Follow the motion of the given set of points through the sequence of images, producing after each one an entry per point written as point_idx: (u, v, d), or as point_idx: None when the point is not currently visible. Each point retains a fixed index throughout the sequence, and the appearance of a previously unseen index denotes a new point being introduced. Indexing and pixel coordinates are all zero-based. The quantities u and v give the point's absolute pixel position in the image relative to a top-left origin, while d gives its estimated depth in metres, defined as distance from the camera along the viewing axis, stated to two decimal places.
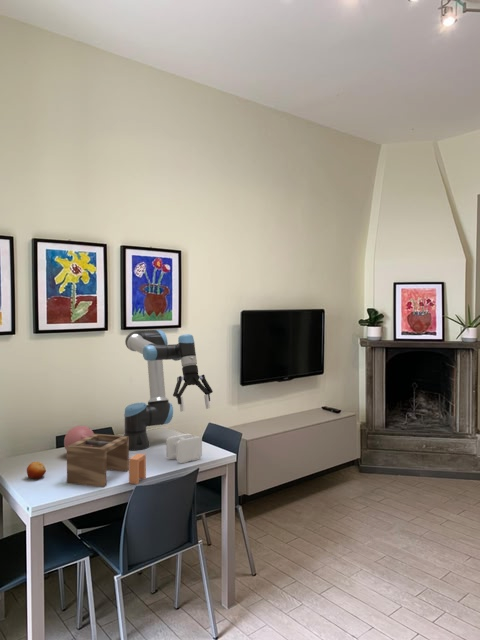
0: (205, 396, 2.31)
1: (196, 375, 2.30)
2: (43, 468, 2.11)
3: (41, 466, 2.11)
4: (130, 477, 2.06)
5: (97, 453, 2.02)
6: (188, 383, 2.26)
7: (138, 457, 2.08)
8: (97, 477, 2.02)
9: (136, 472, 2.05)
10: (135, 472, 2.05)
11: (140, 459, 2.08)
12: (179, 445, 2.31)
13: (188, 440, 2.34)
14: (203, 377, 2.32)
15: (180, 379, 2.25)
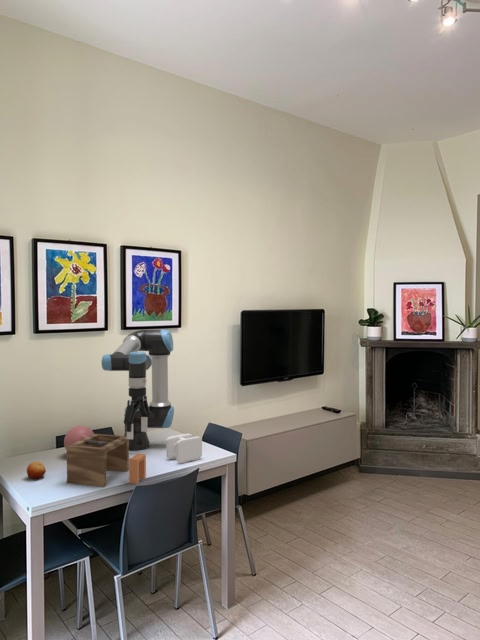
0: (143, 418, 2.15)
1: (142, 397, 2.11)
2: (43, 468, 2.11)
3: (41, 466, 2.11)
4: (130, 477, 2.06)
5: (97, 453, 2.02)
6: (138, 408, 2.06)
7: (138, 457, 2.08)
8: (97, 477, 2.02)
9: (136, 472, 2.05)
10: (135, 472, 2.05)
11: (140, 459, 2.08)
12: (179, 445, 2.31)
13: (188, 440, 2.35)
14: (145, 399, 2.14)
15: (133, 404, 2.02)
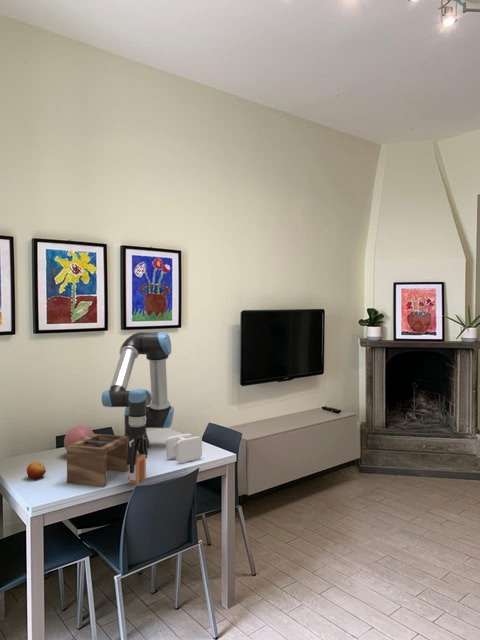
0: None
1: (142, 434, 2.11)
2: (43, 468, 2.11)
3: (41, 466, 2.11)
4: None
5: (97, 453, 2.02)
6: (139, 447, 2.07)
7: (138, 457, 2.08)
8: (97, 477, 2.02)
9: (136, 472, 2.05)
10: None
11: (140, 459, 2.08)
12: (179, 445, 2.31)
13: (188, 440, 2.34)
14: (145, 437, 2.15)
15: (133, 445, 2.03)
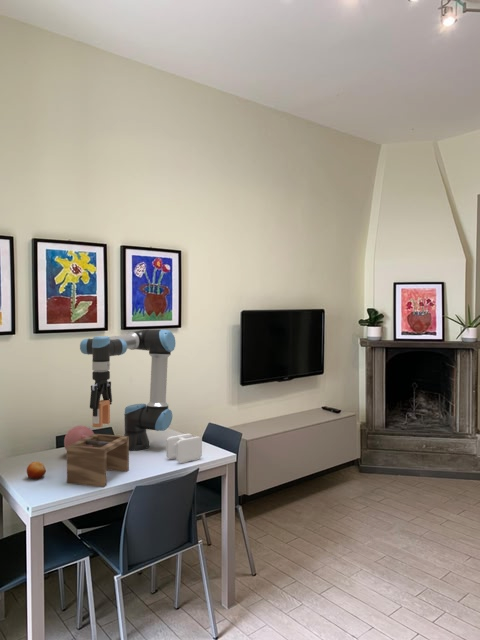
0: None
1: (106, 380, 2.16)
2: (43, 468, 2.11)
3: (41, 466, 2.11)
4: None
5: (97, 453, 2.02)
6: (102, 391, 2.11)
7: (102, 402, 2.12)
8: (97, 477, 2.02)
9: (99, 416, 2.09)
10: None
11: (104, 404, 2.12)
12: (179, 445, 2.31)
13: (188, 440, 2.34)
14: (110, 384, 2.19)
15: (96, 389, 2.07)
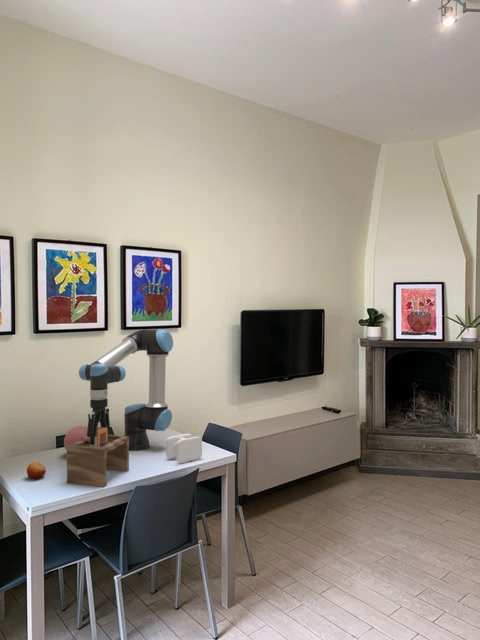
0: None
1: (104, 408, 2.16)
2: (43, 468, 2.11)
3: (41, 466, 2.11)
4: None
5: (97, 453, 2.02)
6: (100, 419, 2.11)
7: (99, 430, 2.13)
8: (97, 477, 2.02)
9: (97, 444, 2.10)
10: None
11: (101, 431, 2.12)
12: (179, 445, 2.31)
13: (188, 440, 2.34)
14: (107, 411, 2.19)
15: (93, 417, 2.08)
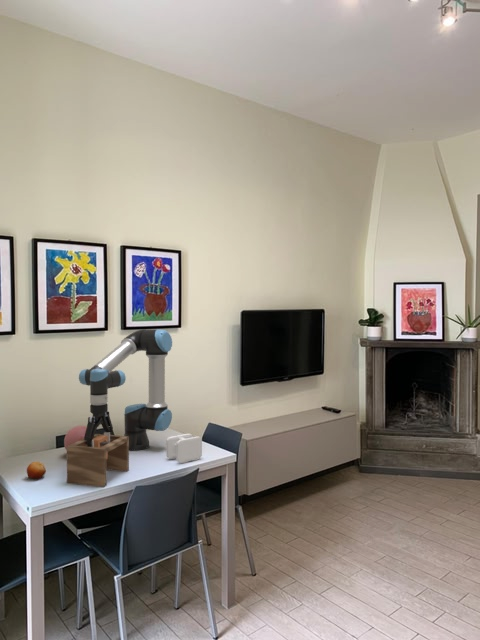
0: (106, 434, 2.20)
1: (104, 413, 2.16)
2: (43, 468, 2.11)
3: (41, 466, 2.11)
4: None
5: (97, 453, 2.02)
6: (99, 424, 2.11)
7: (99, 438, 2.13)
8: (97, 477, 2.02)
9: None
10: None
11: (101, 440, 2.12)
12: (179, 445, 2.31)
13: (188, 440, 2.34)
14: (108, 414, 2.19)
15: (93, 421, 2.07)
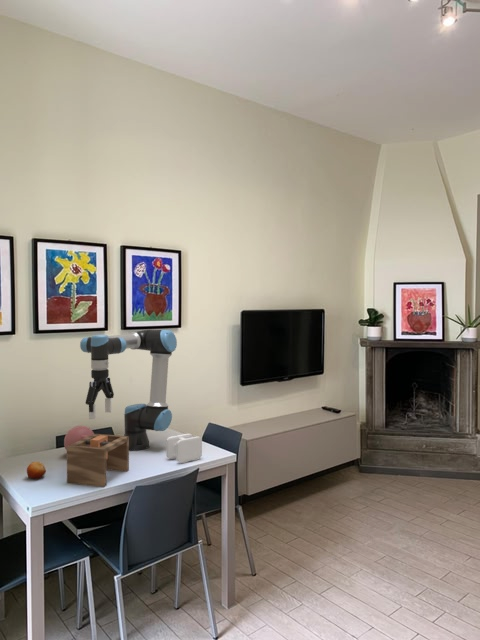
0: (107, 400, 2.22)
1: (105, 379, 2.17)
2: (43, 468, 2.11)
3: (41, 466, 2.11)
4: None
5: (97, 453, 2.02)
6: (100, 389, 2.12)
7: (99, 438, 2.13)
8: (97, 477, 2.02)
9: None
10: None
11: (101, 440, 2.12)
12: (179, 445, 2.31)
13: (188, 440, 2.34)
14: (109, 380, 2.21)
15: (94, 385, 2.09)
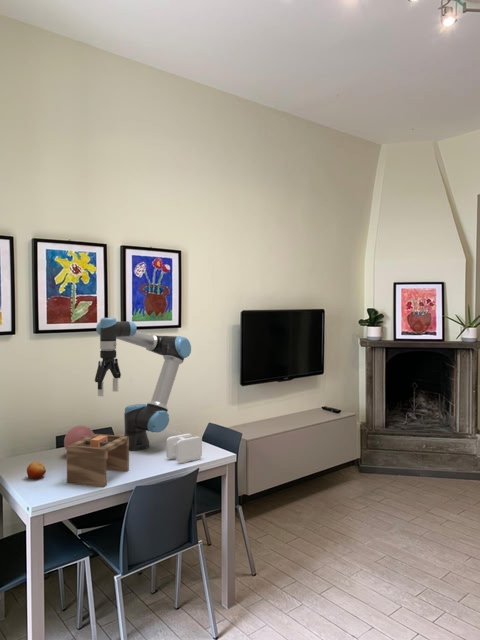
0: (114, 379, 2.35)
1: (112, 359, 2.31)
2: (43, 468, 2.11)
3: (41, 466, 2.11)
4: None
5: (97, 453, 2.02)
6: (108, 368, 2.26)
7: (99, 438, 2.13)
8: (97, 477, 2.02)
9: None
10: None
11: (101, 440, 2.12)
12: (179, 445, 2.31)
13: (188, 440, 2.34)
14: (116, 361, 2.35)
15: (103, 364, 2.22)
